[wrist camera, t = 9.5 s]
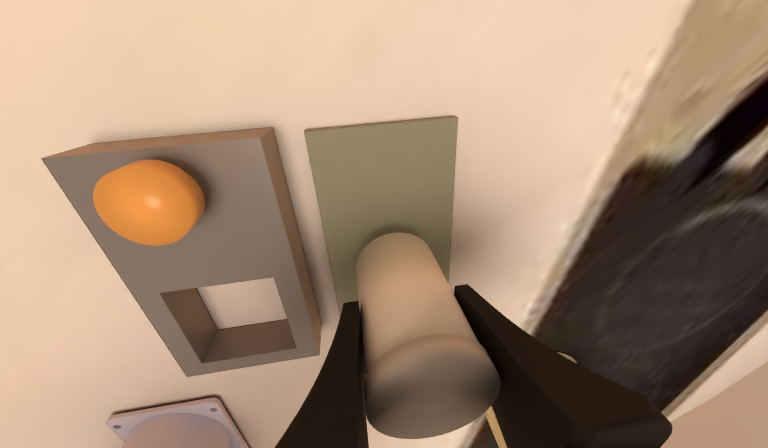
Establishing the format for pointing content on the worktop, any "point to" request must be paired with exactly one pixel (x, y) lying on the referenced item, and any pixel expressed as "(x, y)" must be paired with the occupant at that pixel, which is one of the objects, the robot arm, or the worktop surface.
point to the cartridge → (417, 344)
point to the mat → (383, 189)
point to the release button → (149, 202)
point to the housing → (208, 245)
